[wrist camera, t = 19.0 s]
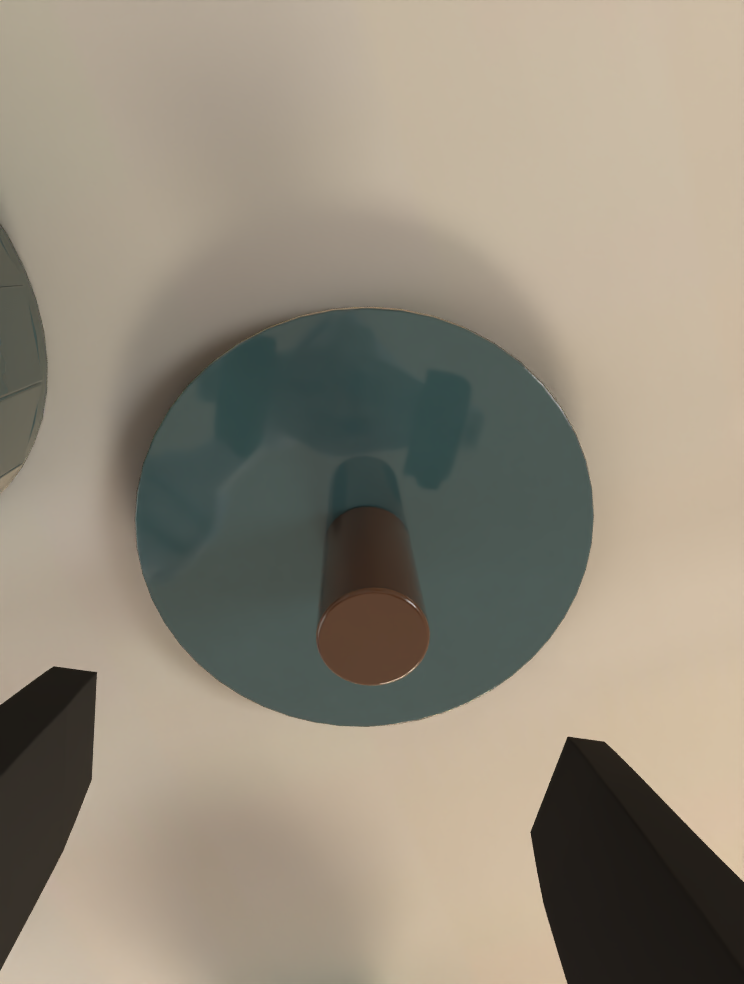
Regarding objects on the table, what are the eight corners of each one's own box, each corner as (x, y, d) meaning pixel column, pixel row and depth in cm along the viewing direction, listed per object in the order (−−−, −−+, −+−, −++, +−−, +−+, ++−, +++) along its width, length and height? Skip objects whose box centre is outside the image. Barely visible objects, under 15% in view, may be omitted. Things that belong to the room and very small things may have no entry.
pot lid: (365, 765, 21) (370, 931, 16) (56, 532, 18) (-66, 646, 13) (665, 526, 18) (791, 633, 13) (367, 191, 15) (377, 156, 10)
